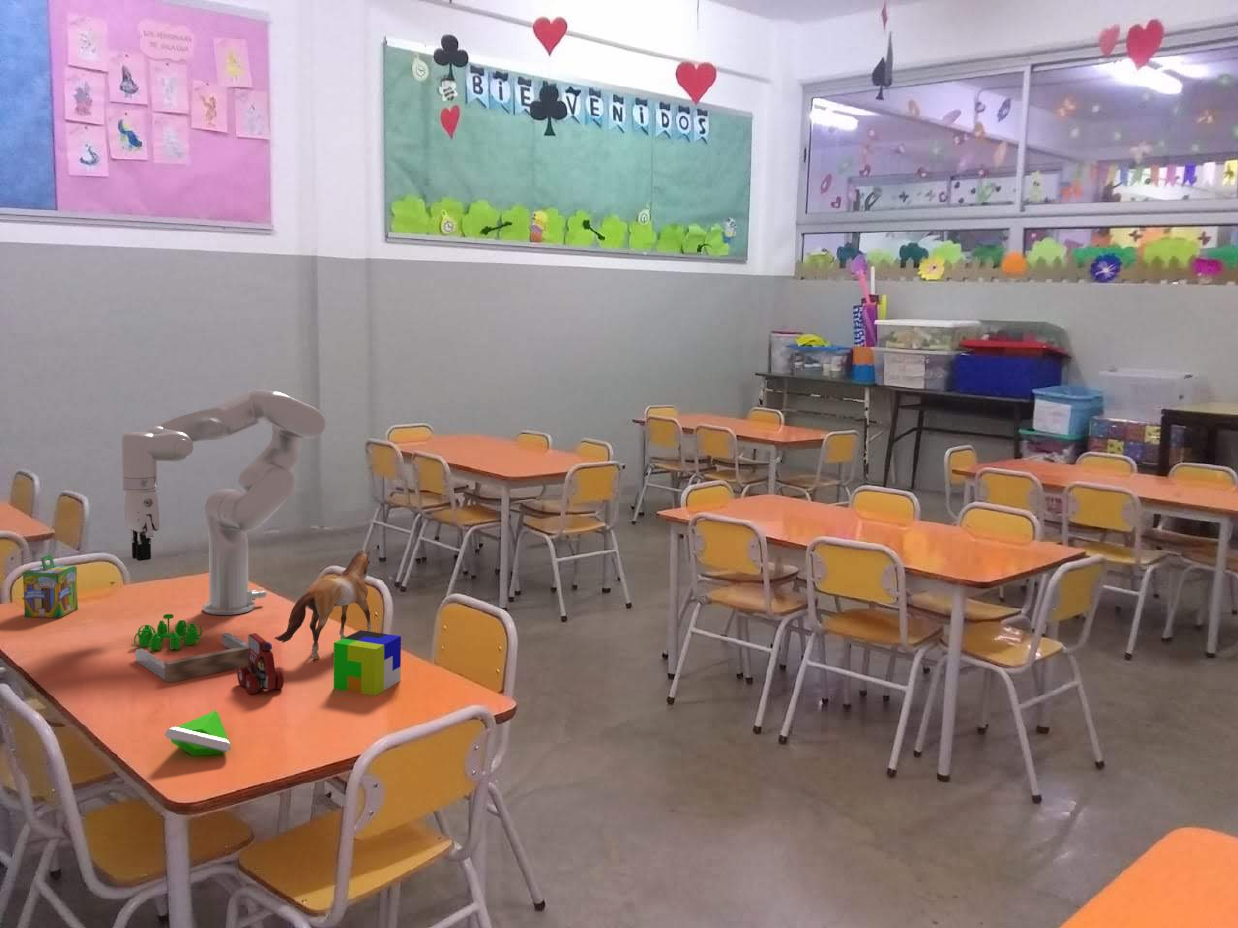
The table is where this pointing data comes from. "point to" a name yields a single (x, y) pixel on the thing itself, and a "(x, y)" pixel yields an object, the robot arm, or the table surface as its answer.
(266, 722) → the table surface
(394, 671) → the puzzle toy
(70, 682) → the table surface
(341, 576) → the horse figurine
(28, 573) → the chalk box
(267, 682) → the toy fire truck
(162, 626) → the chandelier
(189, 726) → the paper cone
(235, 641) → the walnut bay
